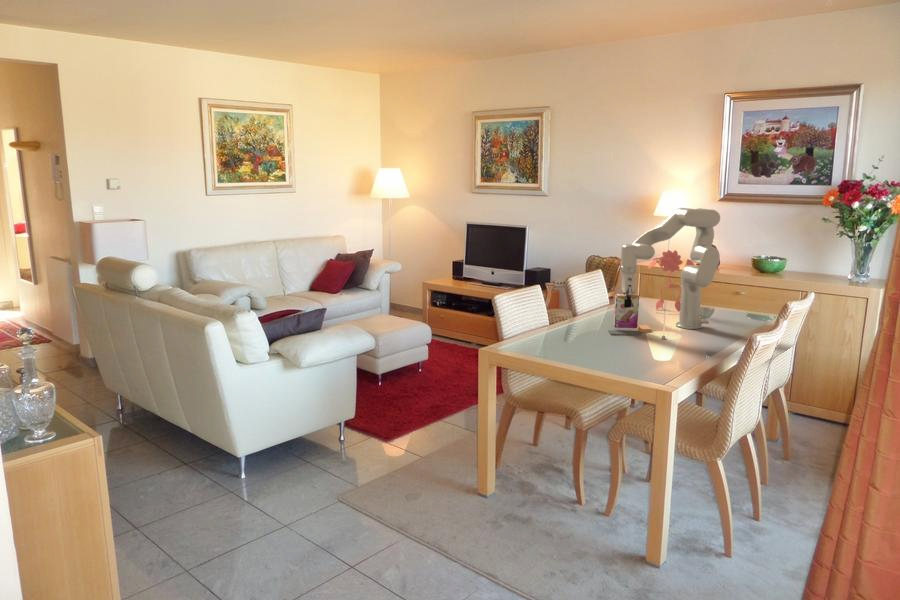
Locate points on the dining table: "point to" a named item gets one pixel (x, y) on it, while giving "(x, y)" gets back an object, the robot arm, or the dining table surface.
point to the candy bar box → (626, 312)
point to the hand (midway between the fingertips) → (626, 305)
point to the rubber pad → (623, 332)
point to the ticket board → (643, 328)
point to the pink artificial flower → (670, 263)
